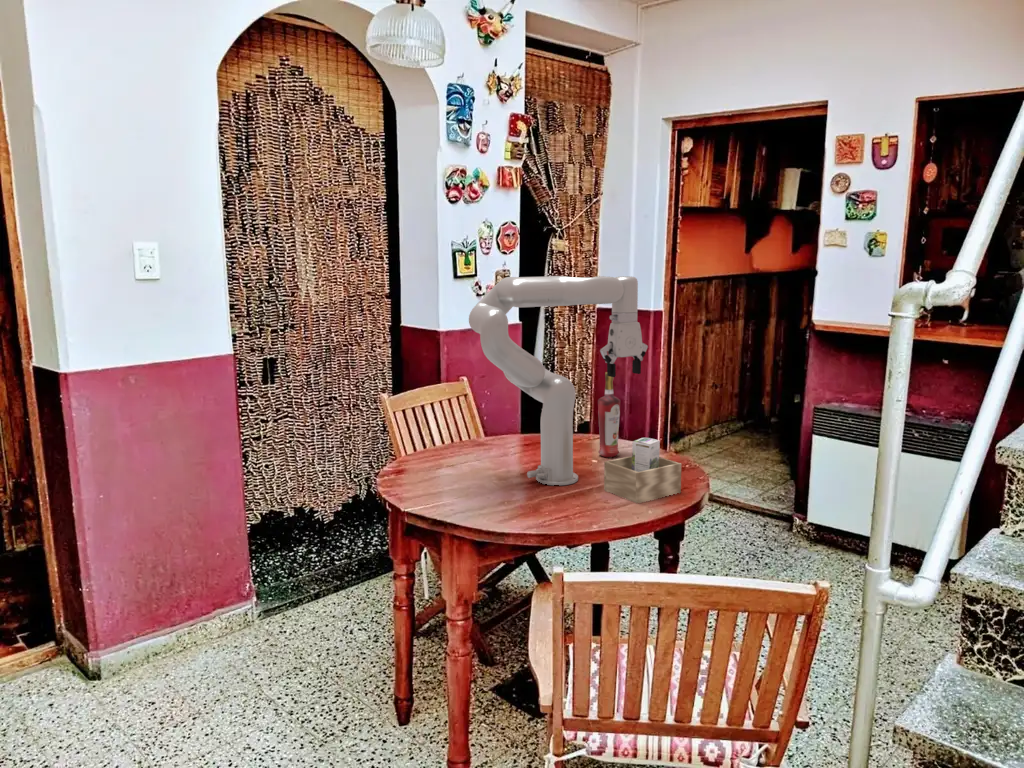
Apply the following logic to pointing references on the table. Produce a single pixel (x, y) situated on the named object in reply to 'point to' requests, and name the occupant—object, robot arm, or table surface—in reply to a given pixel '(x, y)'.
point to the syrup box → (645, 454)
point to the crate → (642, 480)
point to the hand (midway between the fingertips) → (624, 374)
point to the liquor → (608, 420)
